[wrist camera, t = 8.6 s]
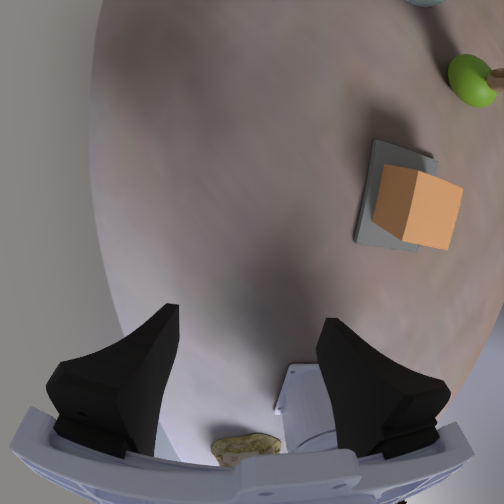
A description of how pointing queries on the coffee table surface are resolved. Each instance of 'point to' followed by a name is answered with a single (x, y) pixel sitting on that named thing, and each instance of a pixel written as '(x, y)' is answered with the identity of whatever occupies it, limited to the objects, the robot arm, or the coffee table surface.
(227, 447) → the ceramic model
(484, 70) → the snail figurine
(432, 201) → the cube
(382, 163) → the mat
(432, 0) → the teal cup
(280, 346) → the coffee table surface
